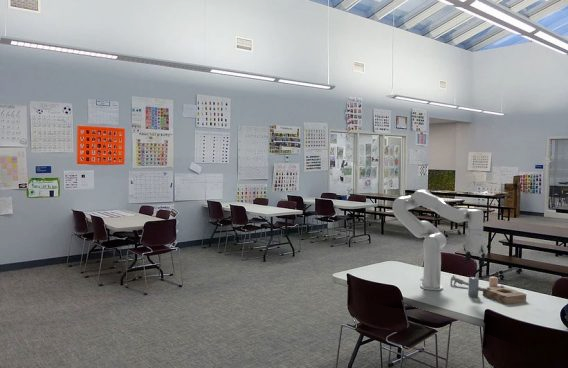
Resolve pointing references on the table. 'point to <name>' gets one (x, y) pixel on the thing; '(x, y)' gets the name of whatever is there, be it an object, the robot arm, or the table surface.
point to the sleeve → (473, 287)
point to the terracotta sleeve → (493, 282)
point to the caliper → (461, 282)
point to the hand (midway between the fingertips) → (474, 262)
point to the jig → (504, 294)
